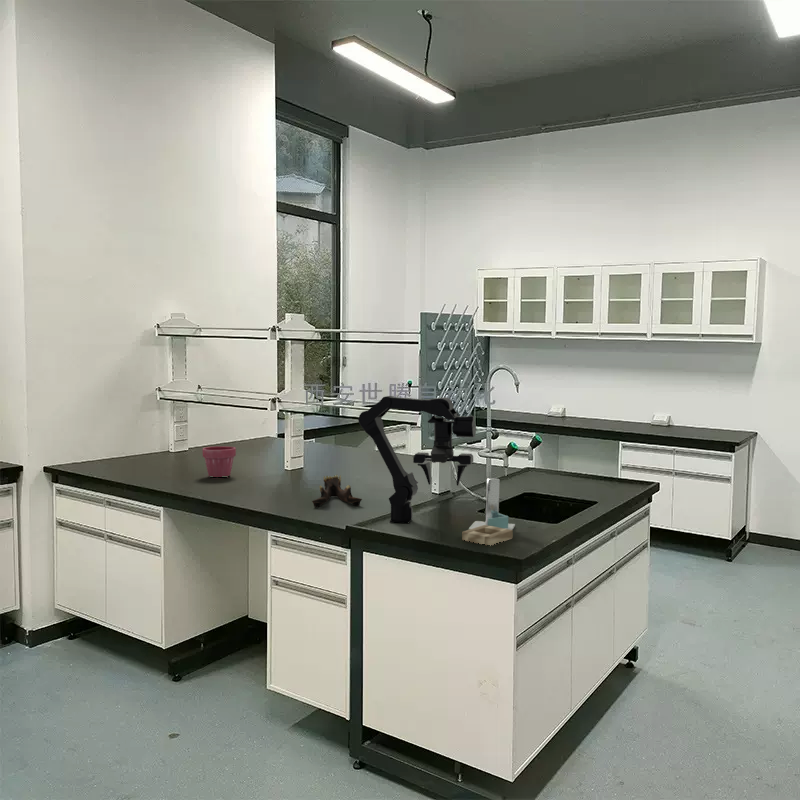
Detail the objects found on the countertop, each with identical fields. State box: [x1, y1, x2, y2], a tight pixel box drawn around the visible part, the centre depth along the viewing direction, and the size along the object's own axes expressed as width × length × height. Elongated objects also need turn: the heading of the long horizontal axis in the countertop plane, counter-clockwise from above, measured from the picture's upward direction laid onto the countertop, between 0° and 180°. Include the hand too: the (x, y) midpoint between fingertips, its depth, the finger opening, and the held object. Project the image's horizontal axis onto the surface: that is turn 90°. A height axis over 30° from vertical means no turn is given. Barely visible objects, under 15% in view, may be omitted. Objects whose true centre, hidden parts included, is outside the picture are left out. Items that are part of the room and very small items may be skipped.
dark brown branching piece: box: [311, 474, 363, 508], centre depth 272 cm, size 17×25×10 cm
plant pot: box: [202, 445, 237, 477], centre depth 321 cm, size 14×14×13 cm
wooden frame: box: [461, 525, 514, 547], centre depth 219 cm, size 10×12×2 cm
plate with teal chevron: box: [468, 512, 516, 531], centre depth 232 cm, size 13×11×4 cm
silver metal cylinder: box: [485, 477, 500, 525], centre depth 232 cm, size 4×4×15 cm
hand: (443, 484), depth 236 cm, fingers open, 9 cm apart
